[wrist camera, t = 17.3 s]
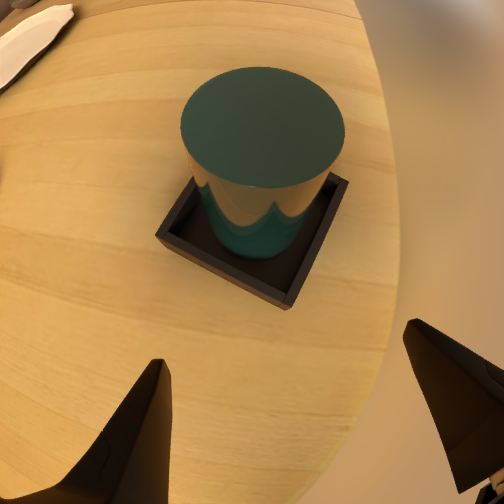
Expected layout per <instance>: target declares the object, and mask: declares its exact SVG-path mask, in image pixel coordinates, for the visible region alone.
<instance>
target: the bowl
mask: <svg viewBox="0 0 504 504" xmlns="http://www.w3.org/2000/svg"><path fill="white" fill-rule="evenodd" d="M37 1H39V0H9V3H10V5H11V6H12V7H13V8H18V9H20V8H27V7H30V6H31V5H33V4H34V3H36V2H37Z"/></svg>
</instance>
